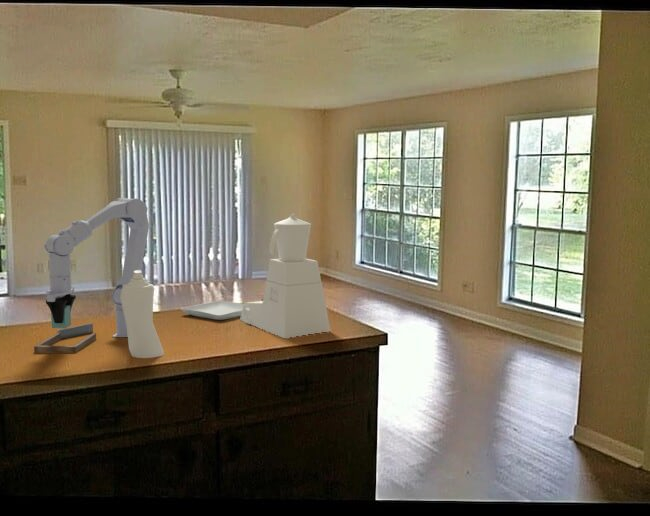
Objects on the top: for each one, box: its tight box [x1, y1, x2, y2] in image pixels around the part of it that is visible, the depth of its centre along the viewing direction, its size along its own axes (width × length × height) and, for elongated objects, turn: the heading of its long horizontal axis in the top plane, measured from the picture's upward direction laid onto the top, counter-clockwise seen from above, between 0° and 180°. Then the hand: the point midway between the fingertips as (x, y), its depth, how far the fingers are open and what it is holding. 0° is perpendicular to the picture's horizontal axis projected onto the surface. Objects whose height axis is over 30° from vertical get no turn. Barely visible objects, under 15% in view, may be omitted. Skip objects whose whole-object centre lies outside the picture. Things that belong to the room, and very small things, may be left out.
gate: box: [56, 322, 94, 340], centre depth 202 cm, size 12×1×3 cm, turn 145°
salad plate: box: [180, 300, 244, 321], centre depth 238 cm, size 21×21×3 cm
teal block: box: [50, 305, 72, 329], centre depth 186 cm, size 4×4×6 cm
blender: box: [239, 213, 331, 339], centre depth 215 cm, size 33×18×40 cm, turn 33°
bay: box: [33, 332, 97, 354], centre depth 189 cm, size 12×16×2 cm
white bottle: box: [120, 270, 165, 359], centre depth 178 cm, size 12×11×25 cm
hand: (62, 321), depth 187 cm, fingers closed on teal block, 4 cm apart
